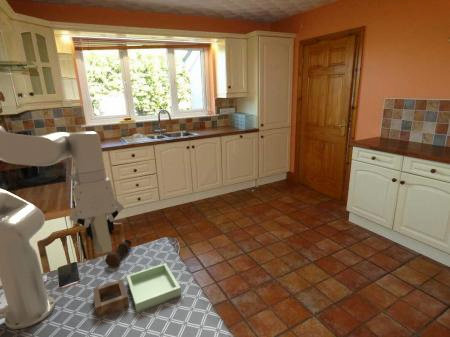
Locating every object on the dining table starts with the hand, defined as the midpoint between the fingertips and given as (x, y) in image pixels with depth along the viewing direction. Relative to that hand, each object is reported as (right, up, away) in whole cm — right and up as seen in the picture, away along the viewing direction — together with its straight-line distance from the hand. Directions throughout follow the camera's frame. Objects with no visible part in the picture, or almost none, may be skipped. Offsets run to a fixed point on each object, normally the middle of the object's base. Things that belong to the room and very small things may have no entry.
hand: (101, 234), depth 82 cm
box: (0, -5, +1) cm, 5 cm away
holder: (+1, -23, +6) cm, 23 cm away
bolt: (-6, -17, +32) cm, 36 cm away
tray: (+13, -21, +11) cm, 26 cm away
